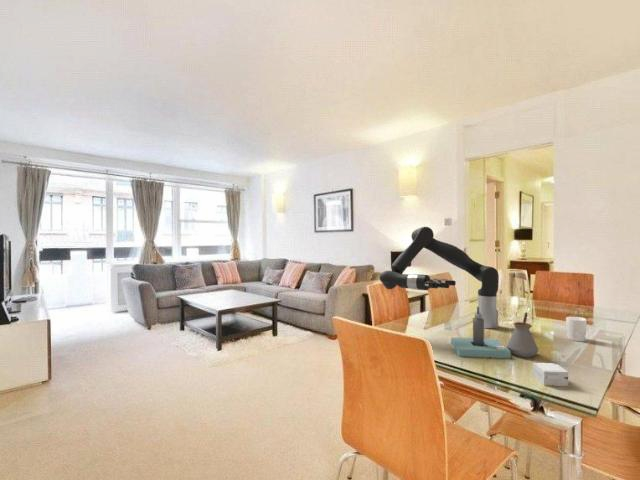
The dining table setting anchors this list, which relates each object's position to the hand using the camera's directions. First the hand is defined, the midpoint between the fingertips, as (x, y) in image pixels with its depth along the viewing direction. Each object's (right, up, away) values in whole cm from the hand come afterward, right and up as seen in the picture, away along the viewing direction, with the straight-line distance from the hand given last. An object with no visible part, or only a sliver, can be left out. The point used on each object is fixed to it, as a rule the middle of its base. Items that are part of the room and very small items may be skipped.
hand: (452, 284), depth 154 cm
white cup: (+62, -27, +7) cm, 68 cm away
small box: (+19, -29, -37) cm, 51 cm away
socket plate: (+9, -28, -7) cm, 30 cm away
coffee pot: (+28, -28, -8) cm, 41 cm away
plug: (+9, -28, -7) cm, 30 cm away
